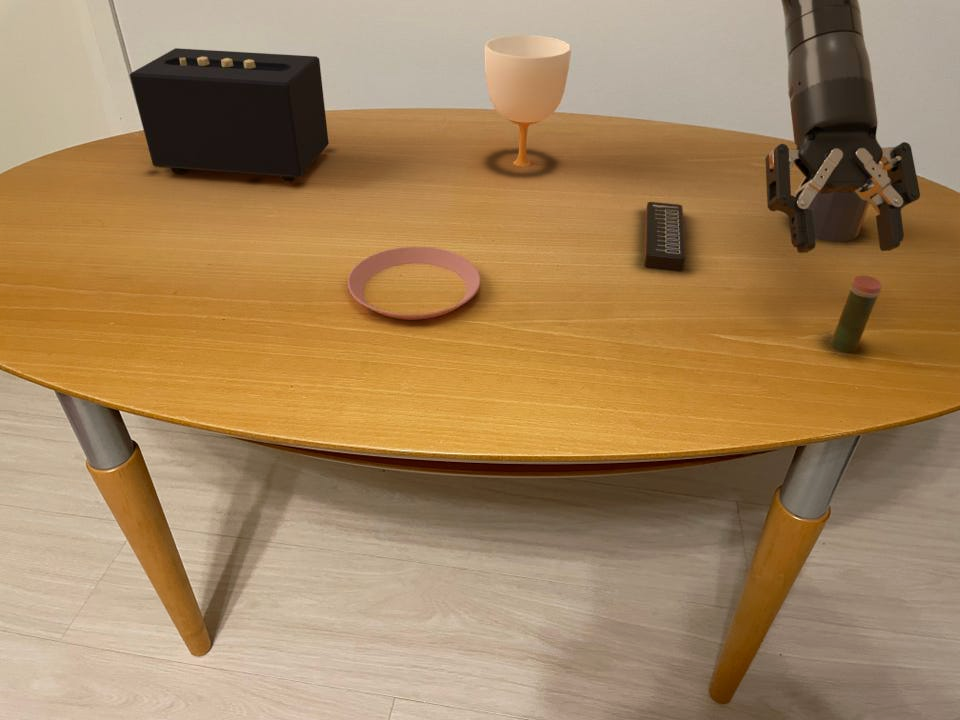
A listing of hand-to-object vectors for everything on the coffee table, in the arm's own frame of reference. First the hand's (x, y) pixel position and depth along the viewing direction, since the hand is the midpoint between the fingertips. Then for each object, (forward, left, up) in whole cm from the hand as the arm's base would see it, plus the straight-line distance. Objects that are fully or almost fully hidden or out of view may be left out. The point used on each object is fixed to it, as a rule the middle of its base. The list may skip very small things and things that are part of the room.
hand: (849, 249), depth 72 cm
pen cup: (-1, -23, -9) cm, 25 cm away
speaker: (+79, -15, -9) cm, 81 cm away
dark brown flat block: (+18, -12, -9) cm, 24 cm away
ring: (+42, +9, -9) cm, 44 cm away
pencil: (-2, +4, -9) cm, 10 cm away
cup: (+41, -29, -9) cm, 51 cm away
